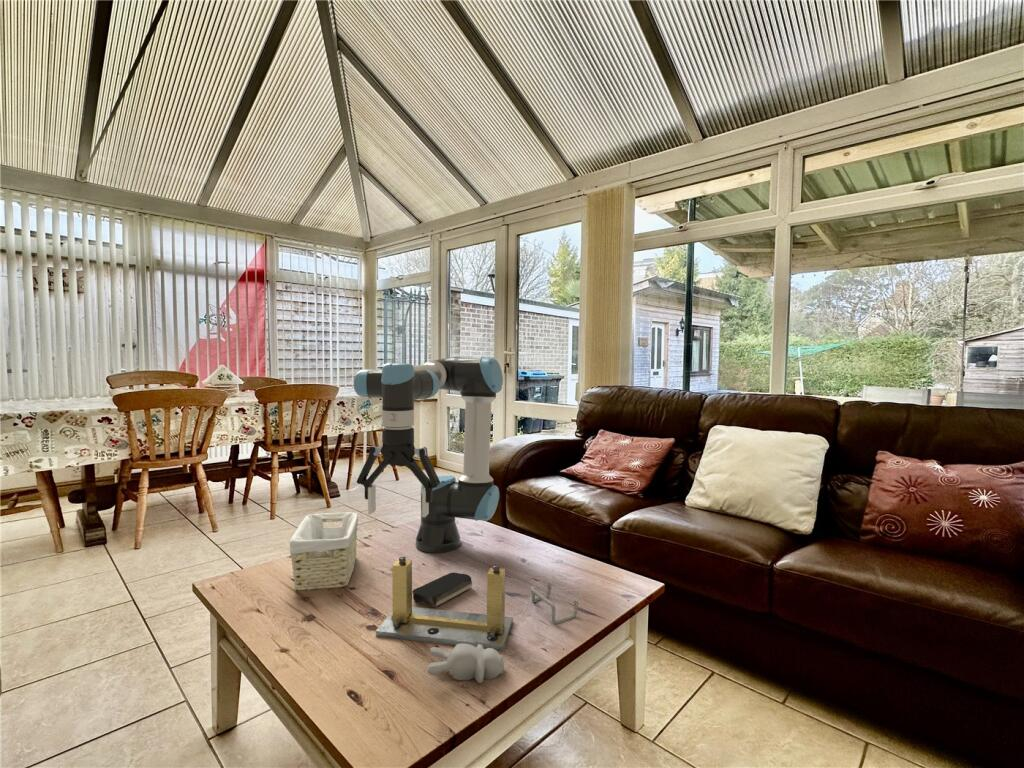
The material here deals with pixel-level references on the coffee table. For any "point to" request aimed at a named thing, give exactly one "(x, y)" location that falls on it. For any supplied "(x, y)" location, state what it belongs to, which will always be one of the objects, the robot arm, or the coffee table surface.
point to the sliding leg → (402, 590)
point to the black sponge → (442, 589)
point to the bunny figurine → (468, 662)
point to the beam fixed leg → (493, 607)
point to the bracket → (544, 598)
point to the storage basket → (324, 551)
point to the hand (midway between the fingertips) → (398, 513)
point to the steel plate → (445, 630)
